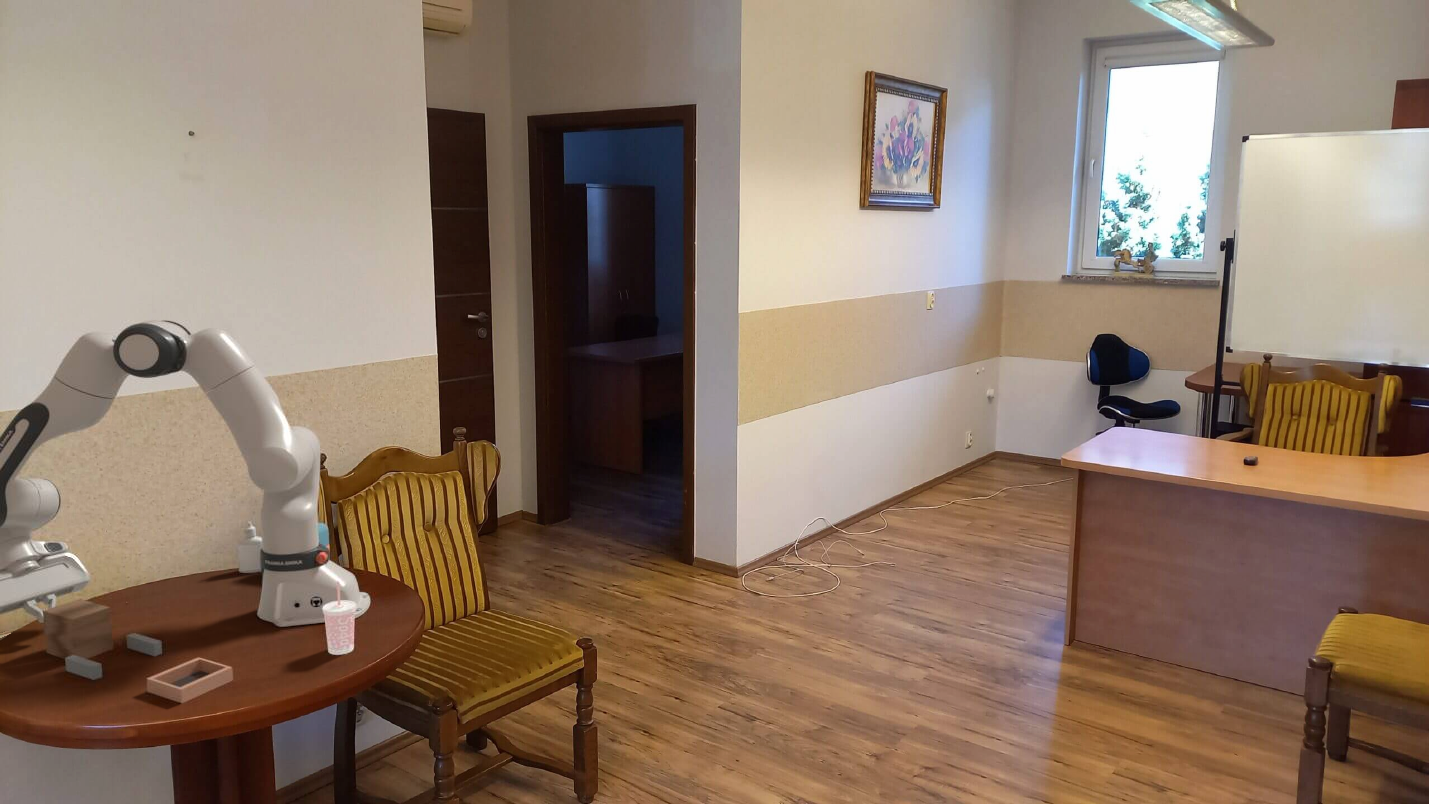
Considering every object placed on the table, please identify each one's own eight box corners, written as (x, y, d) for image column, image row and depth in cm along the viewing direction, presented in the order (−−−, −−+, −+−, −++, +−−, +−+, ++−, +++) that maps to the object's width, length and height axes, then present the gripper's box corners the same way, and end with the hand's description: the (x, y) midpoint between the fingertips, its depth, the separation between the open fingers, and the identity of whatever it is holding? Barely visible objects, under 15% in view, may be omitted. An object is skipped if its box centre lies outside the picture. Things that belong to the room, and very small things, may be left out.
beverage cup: (324, 658, 185) (321, 588, 182) (323, 646, 190) (320, 577, 188) (358, 653, 187) (356, 584, 185) (356, 641, 193) (354, 574, 190)
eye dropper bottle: (257, 574, 229) (254, 525, 227) (235, 572, 230) (232, 524, 228) (268, 568, 233) (265, 520, 231) (247, 566, 234) (244, 518, 232)
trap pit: (147, 691, 170) (146, 678, 169) (199, 670, 178) (198, 657, 178) (182, 703, 166) (181, 689, 165) (233, 680, 175) (232, 667, 174)
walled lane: (66, 670, 177) (65, 657, 176) (134, 645, 188) (134, 632, 188) (94, 680, 173) (92, 667, 173) (162, 653, 185) (161, 641, 185)
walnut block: (46, 653, 184) (42, 610, 183) (83, 640, 190) (80, 599, 189) (76, 662, 180) (72, 619, 179) (113, 649, 187) (109, 607, 185)
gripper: (-39, 568, 180) (-3, 628, 178) (73, 539, 199) (107, 593, 196) (-50, 587, 183) (-15, 646, 180) (61, 557, 201) (95, 610, 199)
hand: (49, 618), depth 188 cm, fingers closed
